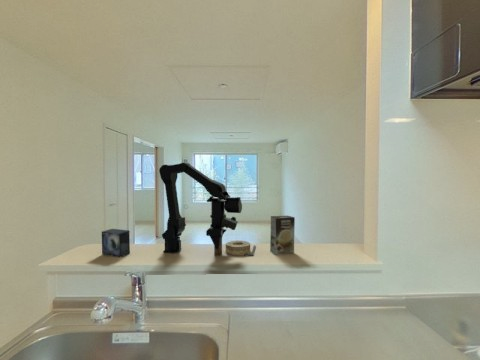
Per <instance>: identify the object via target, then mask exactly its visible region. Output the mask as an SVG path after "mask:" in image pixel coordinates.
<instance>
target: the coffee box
mask: <svg viewBox="0 0 480 360" xmlns="http://www.w3.org/2000/svg"><path fill="white" fill-rule="evenodd" d="M295 219H296V218H295V216H290V215H271V216H270V241H269V242H270V245H269V247H270V248H269V249H270V252H271V253H272V254H274V255H276V256H277V255H284V254H285V255H286V254H287V255H288V254H294V253H295V228H296V227H295V226H296V225H295V222H296V221H295Z"/></svg>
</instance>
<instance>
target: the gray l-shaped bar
mask: <svg viewBox="0 0 480 360" xmlns="http://www.w3.org/2000/svg"><path fill="white" fill-rule="evenodd" d="M251 251H252V252H251V253H247V254H243V256H244V257H254V254H255V251H256V245H253V248H252V250H251Z"/></svg>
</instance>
